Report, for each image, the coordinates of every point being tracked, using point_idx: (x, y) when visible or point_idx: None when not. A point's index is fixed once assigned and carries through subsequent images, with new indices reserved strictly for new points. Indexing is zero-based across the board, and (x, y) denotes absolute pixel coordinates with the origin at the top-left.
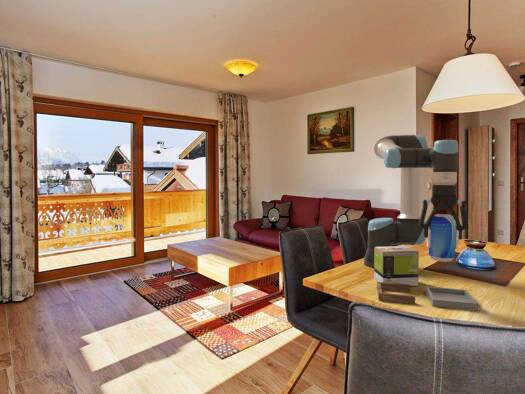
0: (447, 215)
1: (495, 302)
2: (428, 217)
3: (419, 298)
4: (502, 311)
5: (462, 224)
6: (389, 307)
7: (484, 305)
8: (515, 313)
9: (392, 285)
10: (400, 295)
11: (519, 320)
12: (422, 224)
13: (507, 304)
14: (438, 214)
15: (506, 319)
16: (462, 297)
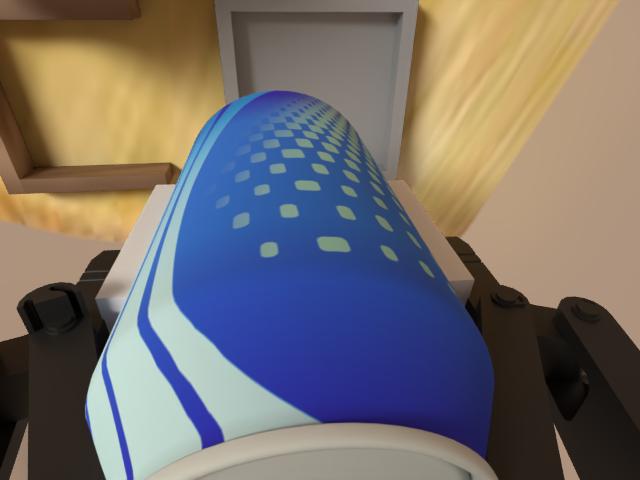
0: (429, 469)
1: (500, 52)
2: (28, 472)
3: (188, 102)
4: (470, 149)
5: (572, 338)
6: (86, 235)
7: (436, 105)
8: (503, 154)
9: (29, 18)
10: (105, 188)
11: (479, 208)
12: (10, 434)
13: (535, 63)
14: (241, 453)
15: (444, 212)
16: (375, 60)
